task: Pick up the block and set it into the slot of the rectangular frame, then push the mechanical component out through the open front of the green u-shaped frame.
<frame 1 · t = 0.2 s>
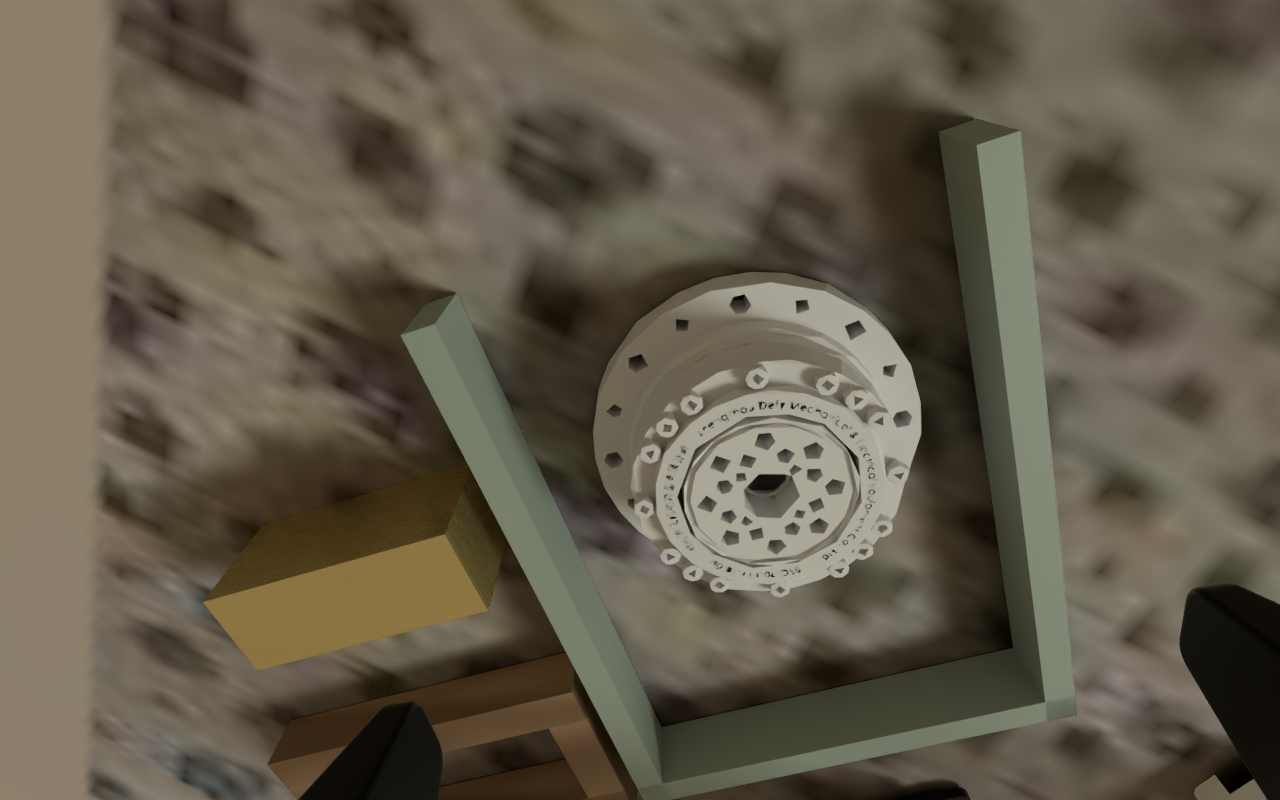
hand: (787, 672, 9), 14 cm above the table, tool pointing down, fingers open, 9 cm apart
block: (387, 525, 25), on the table
mechanical component: (748, 415, 24), on the table
rectangular frame: (467, 744, 30), on the table
green u-shaped frame: (772, 498, 25), on the table
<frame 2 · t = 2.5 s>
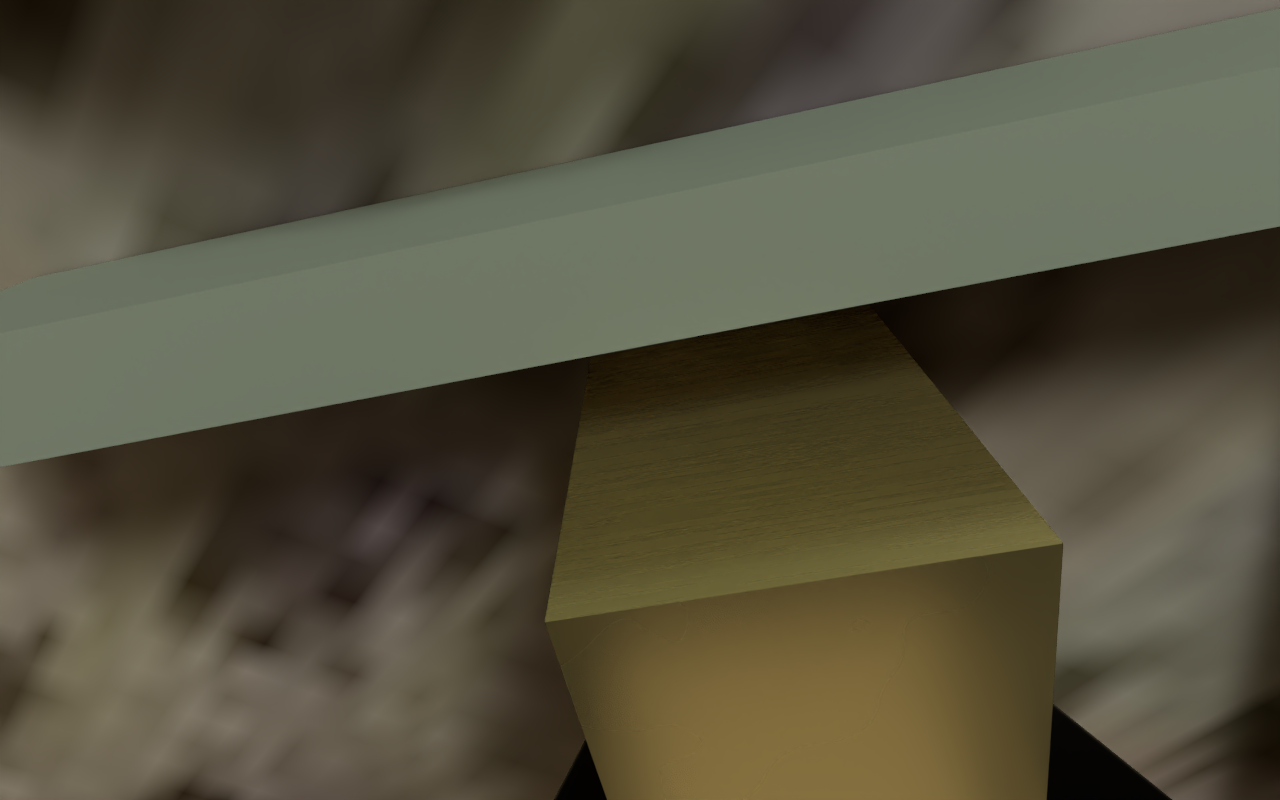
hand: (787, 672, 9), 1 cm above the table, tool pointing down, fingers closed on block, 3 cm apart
block: (773, 611, 10), on the table, touching gripper
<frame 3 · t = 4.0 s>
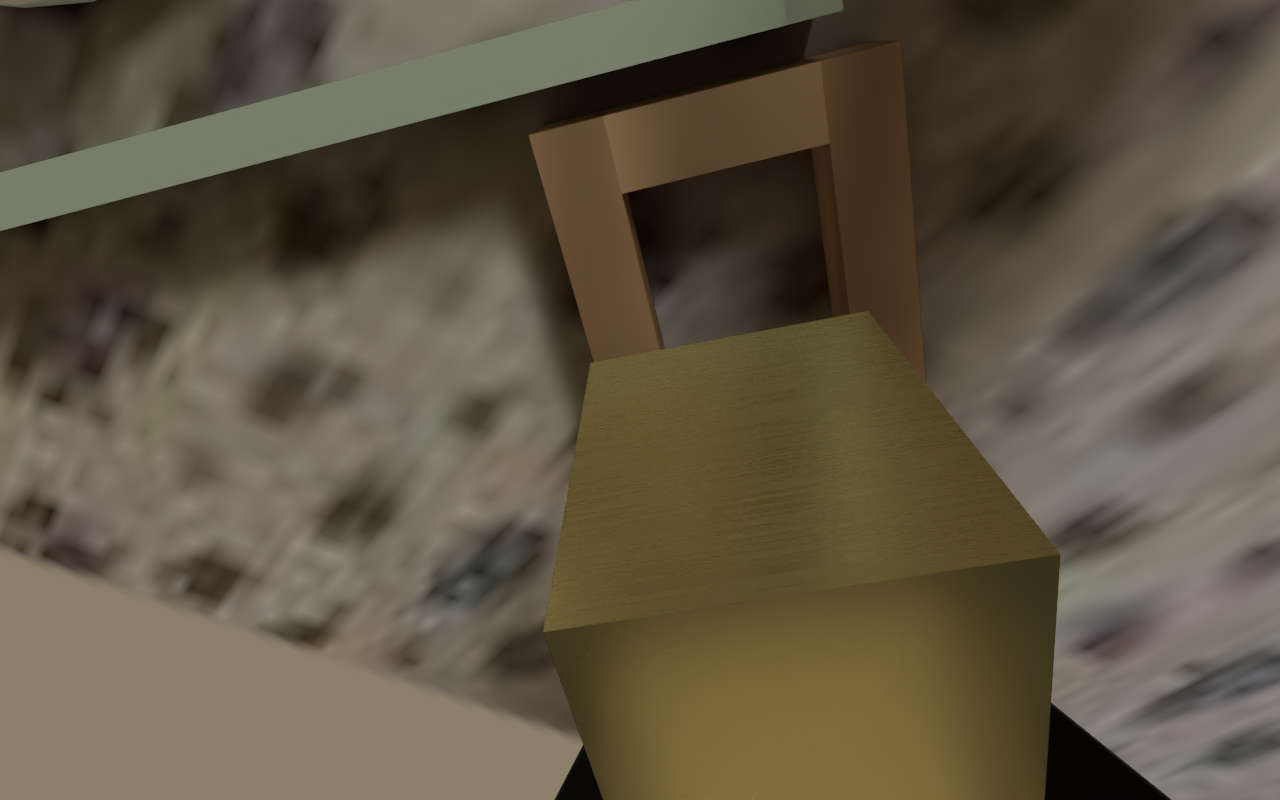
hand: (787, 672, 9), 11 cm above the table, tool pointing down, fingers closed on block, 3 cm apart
block: (772, 615, 10), point 10 cm above the table, touching gripper
rectangular frame: (750, 347, 18), on the table
when the fingers open (3 cm above the table, at t = 5.8 s): block drops 2 cm, resting in rectangular frame.
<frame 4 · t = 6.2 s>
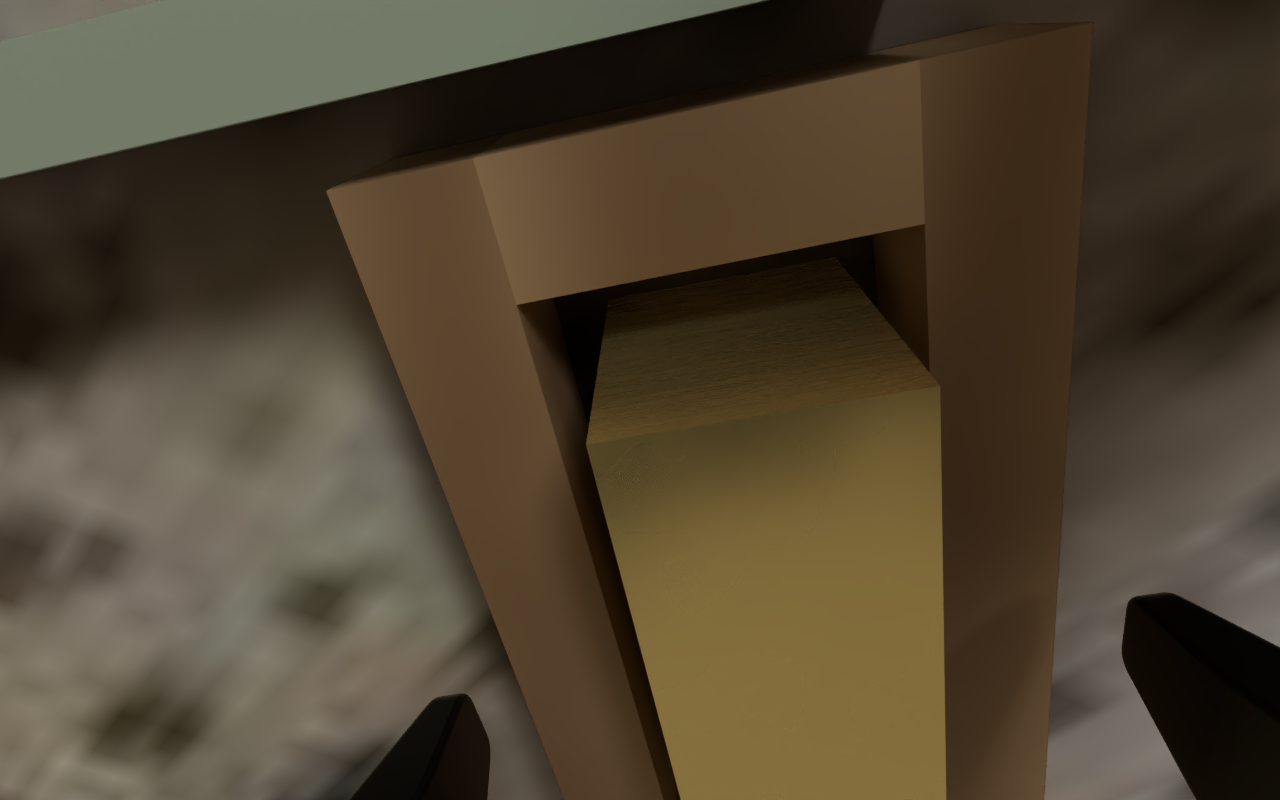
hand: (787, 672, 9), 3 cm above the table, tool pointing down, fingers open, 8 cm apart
block: (756, 516, 11), resting in rectangular frame
rectangular frame: (752, 522, 11), on the table
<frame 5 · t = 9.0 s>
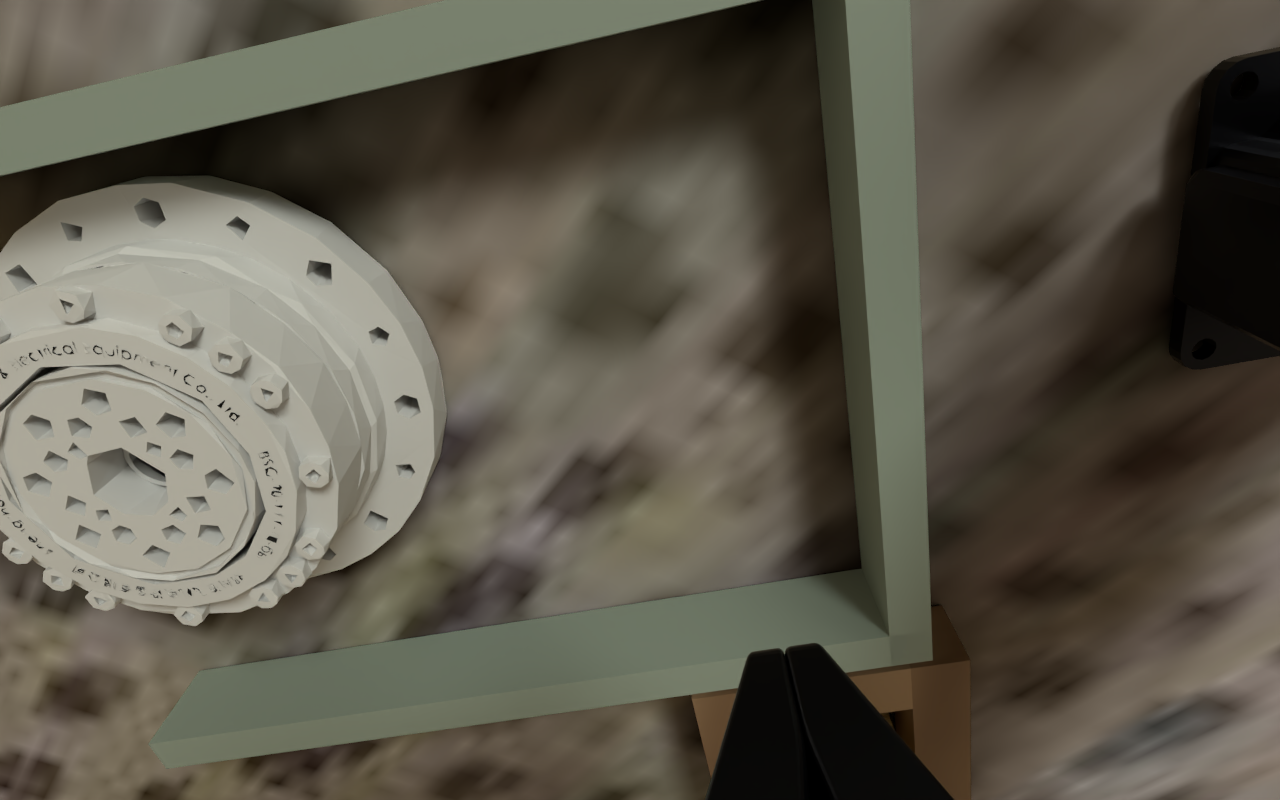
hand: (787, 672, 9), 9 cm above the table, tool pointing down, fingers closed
mechanical component: (247, 380, 18), on the table
rectangular frame: (831, 768, 23), on the table
green u-shaped frame: (445, 405, 18), on the table
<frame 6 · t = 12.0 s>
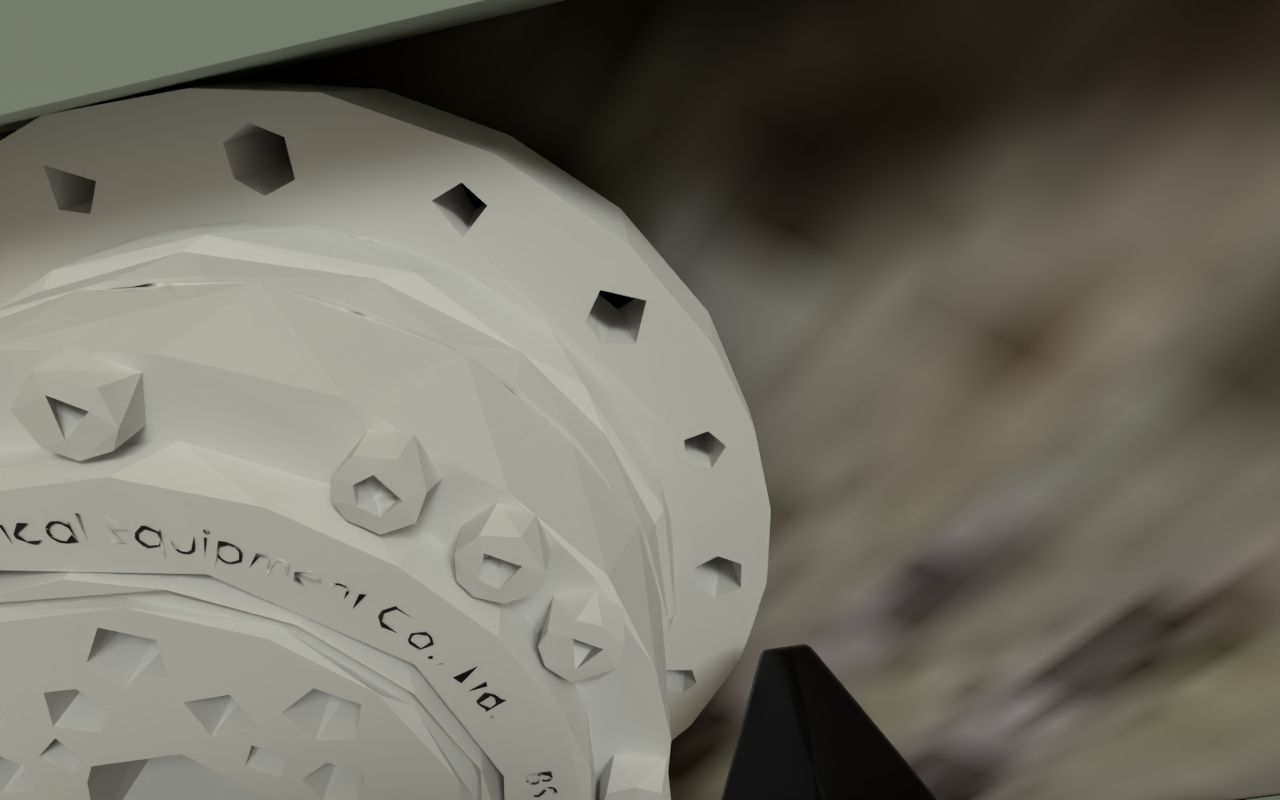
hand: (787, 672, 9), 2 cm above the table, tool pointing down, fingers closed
mechanical component: (376, 484, 10), on the table, touching gripper
green u-shaped frame: (942, 525, 10), on the table
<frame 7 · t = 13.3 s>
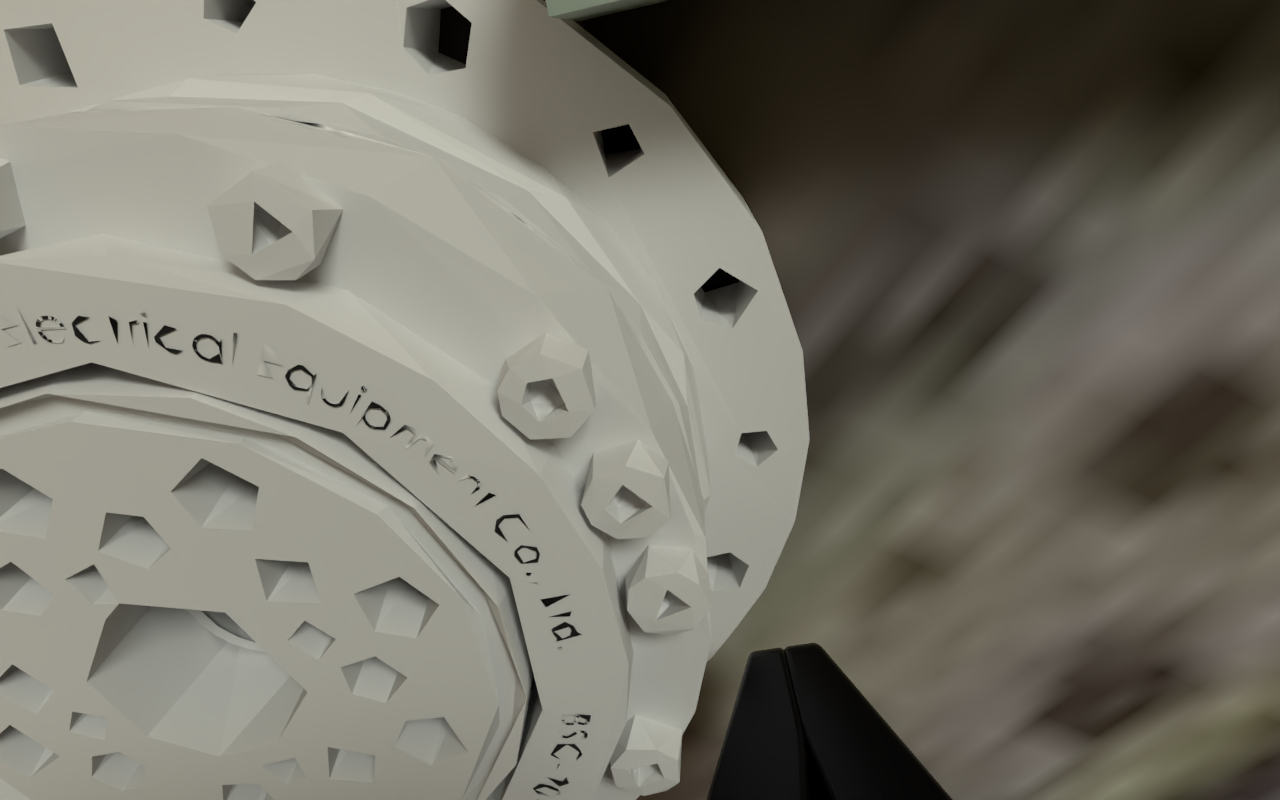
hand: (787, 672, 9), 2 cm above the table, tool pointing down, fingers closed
mechanical component: (393, 397, 9), on the table
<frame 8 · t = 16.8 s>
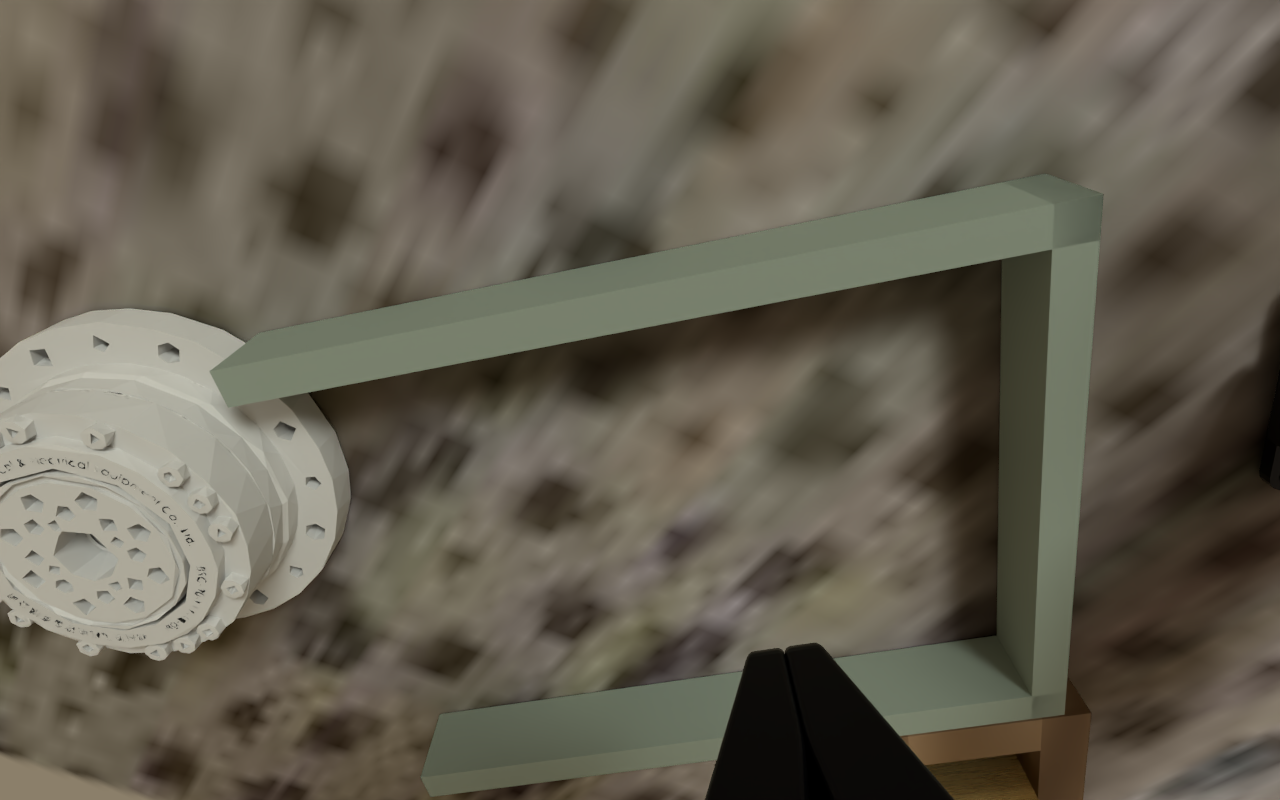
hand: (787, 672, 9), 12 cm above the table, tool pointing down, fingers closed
block: (954, 792, 28), resting in rectangular frame
mechanical component: (190, 458, 22), on the table
rectangular frame: (954, 794, 28), on the table
green u-shaped frame: (677, 512, 22), on the table
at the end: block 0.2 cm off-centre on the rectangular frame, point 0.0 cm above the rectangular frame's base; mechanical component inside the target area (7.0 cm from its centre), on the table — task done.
